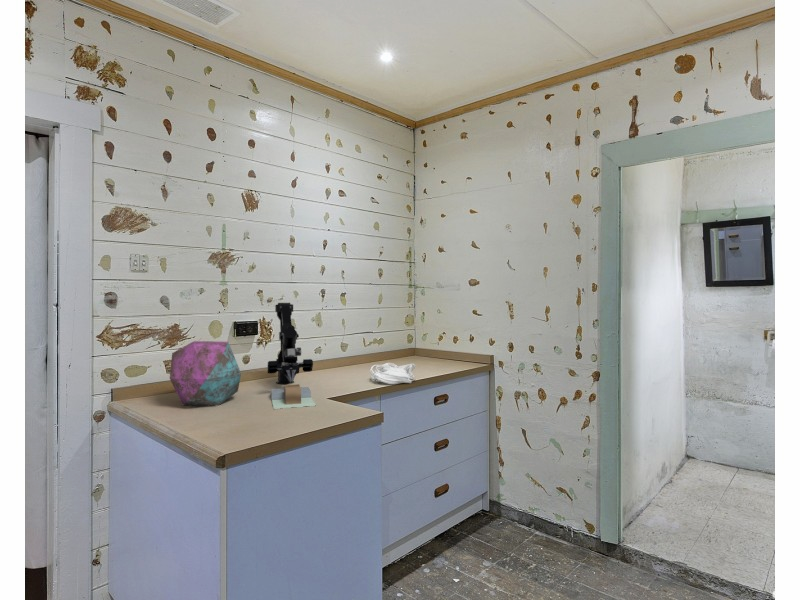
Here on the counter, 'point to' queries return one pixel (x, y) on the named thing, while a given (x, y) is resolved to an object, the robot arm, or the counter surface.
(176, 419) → the counter surface
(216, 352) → the decorative object
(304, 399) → the mat
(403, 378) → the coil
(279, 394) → the plate
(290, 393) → the block
